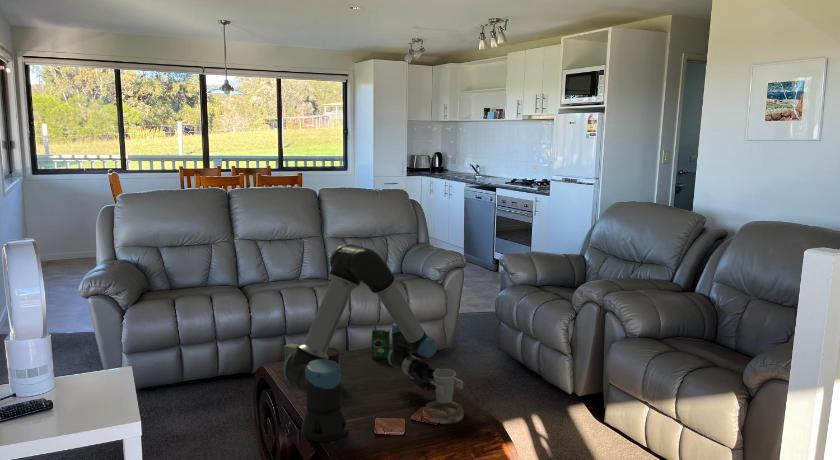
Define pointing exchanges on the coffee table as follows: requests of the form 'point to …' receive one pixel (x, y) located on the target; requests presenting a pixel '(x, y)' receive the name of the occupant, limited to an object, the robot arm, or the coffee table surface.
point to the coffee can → (333, 355)
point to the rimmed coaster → (451, 409)
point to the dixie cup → (445, 384)
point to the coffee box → (380, 344)
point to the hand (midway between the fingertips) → (452, 388)
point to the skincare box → (289, 349)
